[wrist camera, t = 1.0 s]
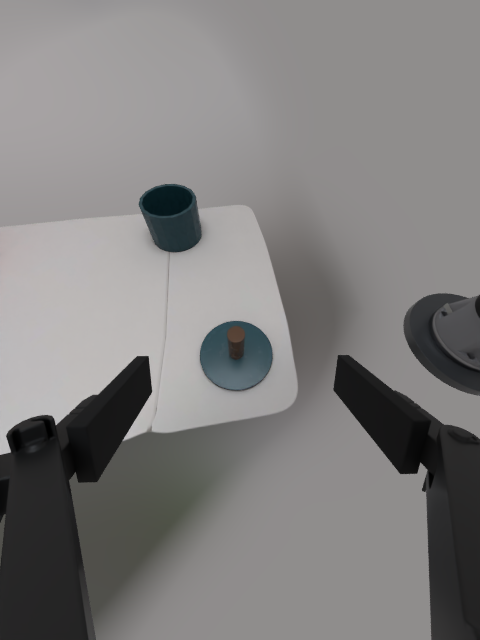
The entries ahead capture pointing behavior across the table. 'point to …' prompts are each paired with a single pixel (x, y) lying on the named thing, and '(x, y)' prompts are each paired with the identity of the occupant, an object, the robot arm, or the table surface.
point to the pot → (171, 217)
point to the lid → (236, 355)
